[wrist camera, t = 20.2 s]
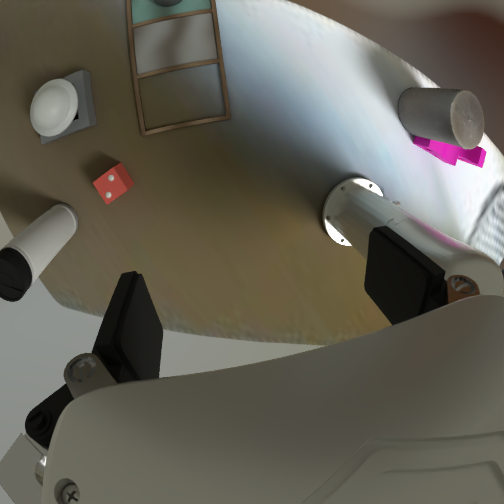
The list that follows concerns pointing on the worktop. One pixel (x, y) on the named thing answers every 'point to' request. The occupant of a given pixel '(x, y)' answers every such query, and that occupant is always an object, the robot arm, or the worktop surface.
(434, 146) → the toy block
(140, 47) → the brown flat rectangular frame
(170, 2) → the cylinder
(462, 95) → the pillar candle
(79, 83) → the collar
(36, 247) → the travel mug
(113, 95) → the worktop surface
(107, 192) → the red die
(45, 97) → the dome
